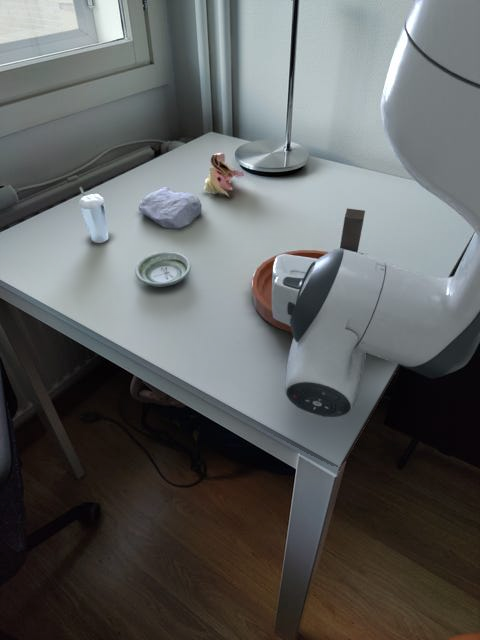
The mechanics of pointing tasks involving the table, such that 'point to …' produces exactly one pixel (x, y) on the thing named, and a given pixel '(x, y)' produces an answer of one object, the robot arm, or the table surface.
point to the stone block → (171, 208)
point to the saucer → (163, 269)
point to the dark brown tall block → (352, 229)
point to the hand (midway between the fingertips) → (347, 254)
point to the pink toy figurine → (220, 175)
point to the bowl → (264, 286)
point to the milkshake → (94, 216)
